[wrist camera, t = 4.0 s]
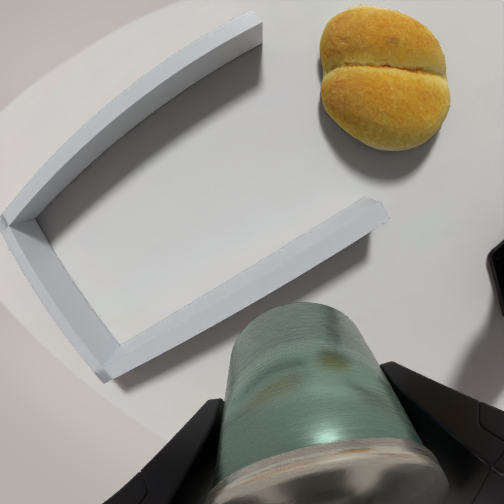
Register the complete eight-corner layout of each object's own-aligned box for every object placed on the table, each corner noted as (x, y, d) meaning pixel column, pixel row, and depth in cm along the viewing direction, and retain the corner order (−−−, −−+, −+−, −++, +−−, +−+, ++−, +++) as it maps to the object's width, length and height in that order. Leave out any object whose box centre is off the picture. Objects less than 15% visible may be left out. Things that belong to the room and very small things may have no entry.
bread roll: (318, 147, 18) (333, 141, 14) (314, 13, 16) (325, -18, 12) (440, 159, 18) (475, 159, 14) (431, 35, 15) (460, 14, 11)
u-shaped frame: (371, 211, 18) (390, 218, 15) (119, 361, 21) (103, 383, 18) (253, 31, 16) (251, 9, 13) (22, 215, 19) (-5, 222, 16)
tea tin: (370, 397, 10) (427, 537, 4) (246, 424, 11) (239, 575, 5) (360, 283, 9) (472, 423, 3) (209, 316, 10) (156, 489, 4)
